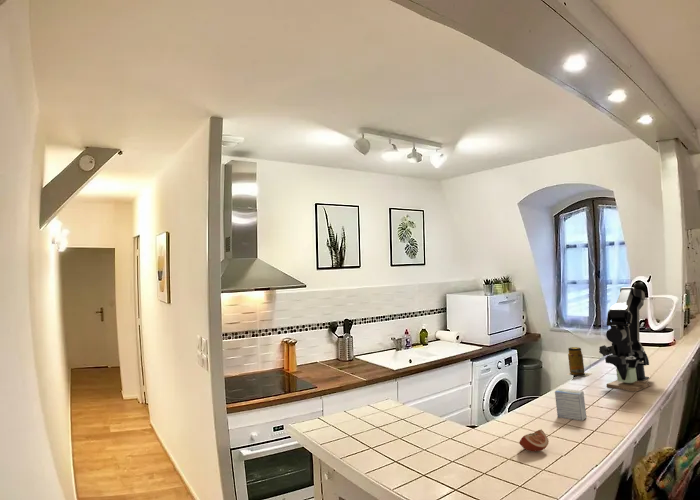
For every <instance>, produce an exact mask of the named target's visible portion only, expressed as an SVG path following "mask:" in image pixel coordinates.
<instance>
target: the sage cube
mask: <svg viewBox="0 0 700 500" xmlns="http://www.w3.org/2000/svg"><path fill="white" fill-rule="evenodd" d="M615 371H616V380H618V381H619V382H626V383H633V382H635V381H638V380H637V376H636V368H629V367H628V371H627V375H626V379H625V380H622V378H621V376H620V374H619V372H618V370H617V368H616V370H615Z"/></svg>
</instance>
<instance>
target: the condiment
mask: <svg viewBox="0 0 700 500" xmlns="http://www.w3.org/2000/svg"><path fill="white" fill-rule="evenodd" d="M567 351H568V354H567V356H568V366H569V373H567V376H568V375H569V376H579V377H588V376H591V375H592V373H591V372H585V365H584V354H582V348H581V347H578V346H574V347H573V346H571V347H568V350H567Z"/></svg>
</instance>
